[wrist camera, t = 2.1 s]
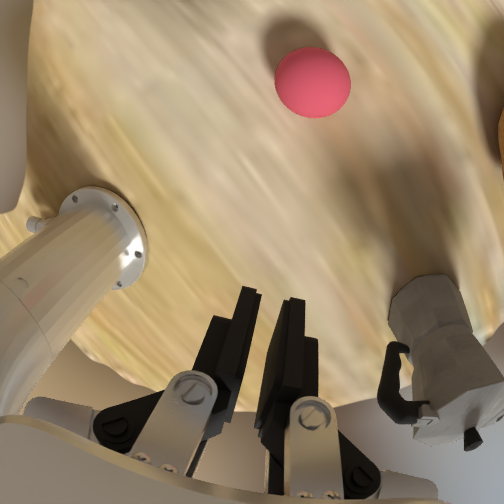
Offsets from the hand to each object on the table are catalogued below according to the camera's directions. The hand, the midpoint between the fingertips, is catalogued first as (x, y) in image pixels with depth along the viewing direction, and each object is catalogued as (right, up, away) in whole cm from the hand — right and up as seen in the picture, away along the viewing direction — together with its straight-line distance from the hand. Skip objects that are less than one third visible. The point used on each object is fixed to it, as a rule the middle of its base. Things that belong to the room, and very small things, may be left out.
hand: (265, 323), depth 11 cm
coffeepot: (+18, -3, +18) cm, 26 cm away
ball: (+4, +15, +8) cm, 17 cm away
